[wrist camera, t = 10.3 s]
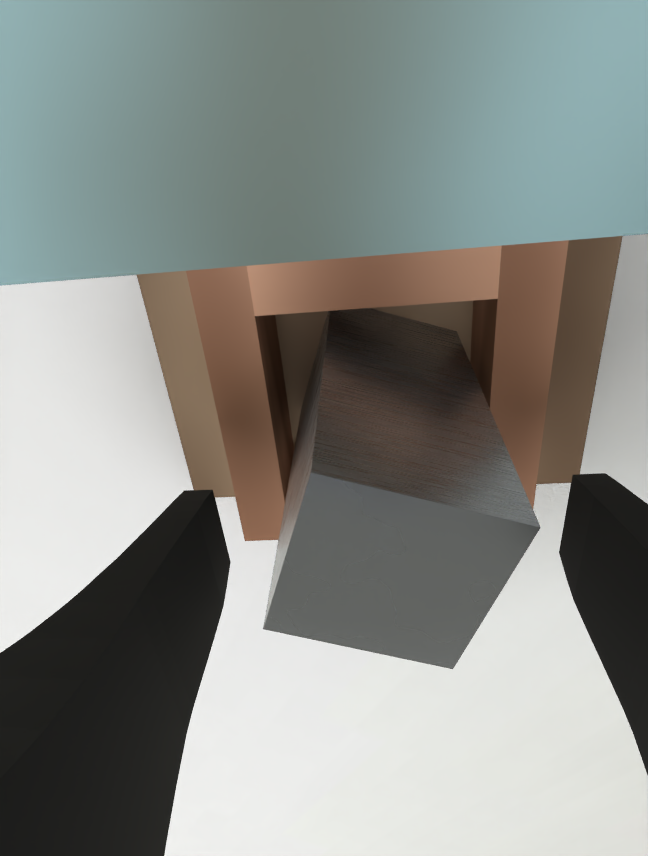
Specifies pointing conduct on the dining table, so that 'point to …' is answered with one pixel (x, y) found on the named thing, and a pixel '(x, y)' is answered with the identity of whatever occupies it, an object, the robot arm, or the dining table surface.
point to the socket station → (333, 197)
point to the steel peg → (396, 496)
